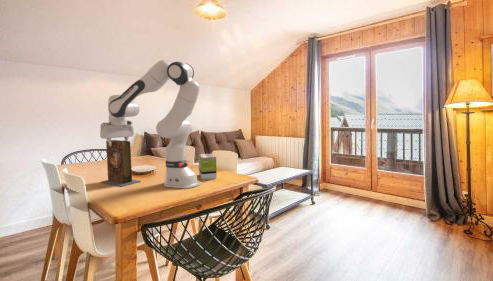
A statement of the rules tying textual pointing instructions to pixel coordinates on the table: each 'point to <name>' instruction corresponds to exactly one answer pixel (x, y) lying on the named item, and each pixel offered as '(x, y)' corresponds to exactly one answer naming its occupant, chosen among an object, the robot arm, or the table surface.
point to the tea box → (207, 166)
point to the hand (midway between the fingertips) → (118, 145)
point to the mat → (120, 183)
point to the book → (119, 161)
